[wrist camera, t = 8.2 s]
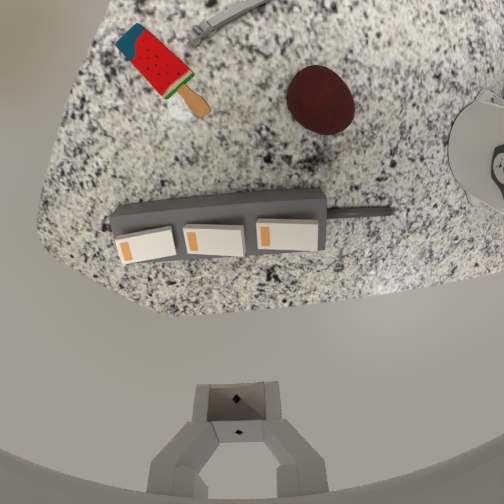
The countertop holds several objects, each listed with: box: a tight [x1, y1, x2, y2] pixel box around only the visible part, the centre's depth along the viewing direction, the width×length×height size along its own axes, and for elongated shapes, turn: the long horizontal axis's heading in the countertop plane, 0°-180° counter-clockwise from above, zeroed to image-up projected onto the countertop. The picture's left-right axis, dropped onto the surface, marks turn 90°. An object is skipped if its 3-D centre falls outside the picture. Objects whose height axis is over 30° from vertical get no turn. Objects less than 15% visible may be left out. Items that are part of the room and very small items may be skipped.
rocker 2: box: [183, 224, 246, 257], centre depth 36 cm, size 7×3×1 cm, turn 94°
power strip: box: [109, 188, 393, 264], centre depth 39 cm, size 38×7×5 cm, turn 94°
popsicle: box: [115, 23, 210, 118], centre depth 31 cm, size 4×2×15 cm
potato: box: [287, 65, 355, 135], centre depth 31 cm, size 7×8×6 cm
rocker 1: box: [115, 226, 176, 265], centre depth 36 cm, size 7×3×1 cm, turn 94°
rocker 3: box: [256, 219, 318, 251], centre depth 36 cm, size 7×3×1 cm, turn 94°
